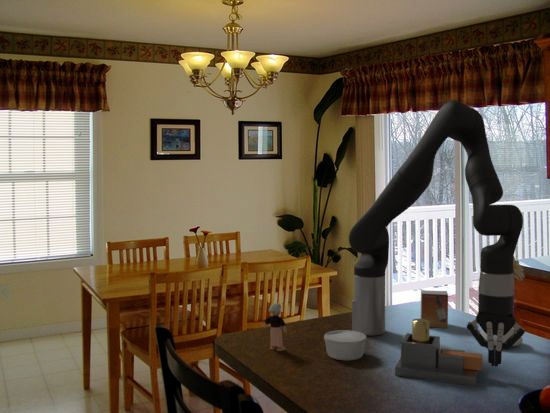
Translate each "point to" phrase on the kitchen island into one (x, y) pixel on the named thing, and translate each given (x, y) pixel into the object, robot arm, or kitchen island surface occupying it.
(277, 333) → the grandmother figurine
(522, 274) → the flower in vase
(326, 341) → the ramekin
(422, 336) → the brass peg
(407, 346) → the dock
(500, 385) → the kitchen island surface
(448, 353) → the lock pin
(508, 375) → the kitchen island surface
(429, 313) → the small box
